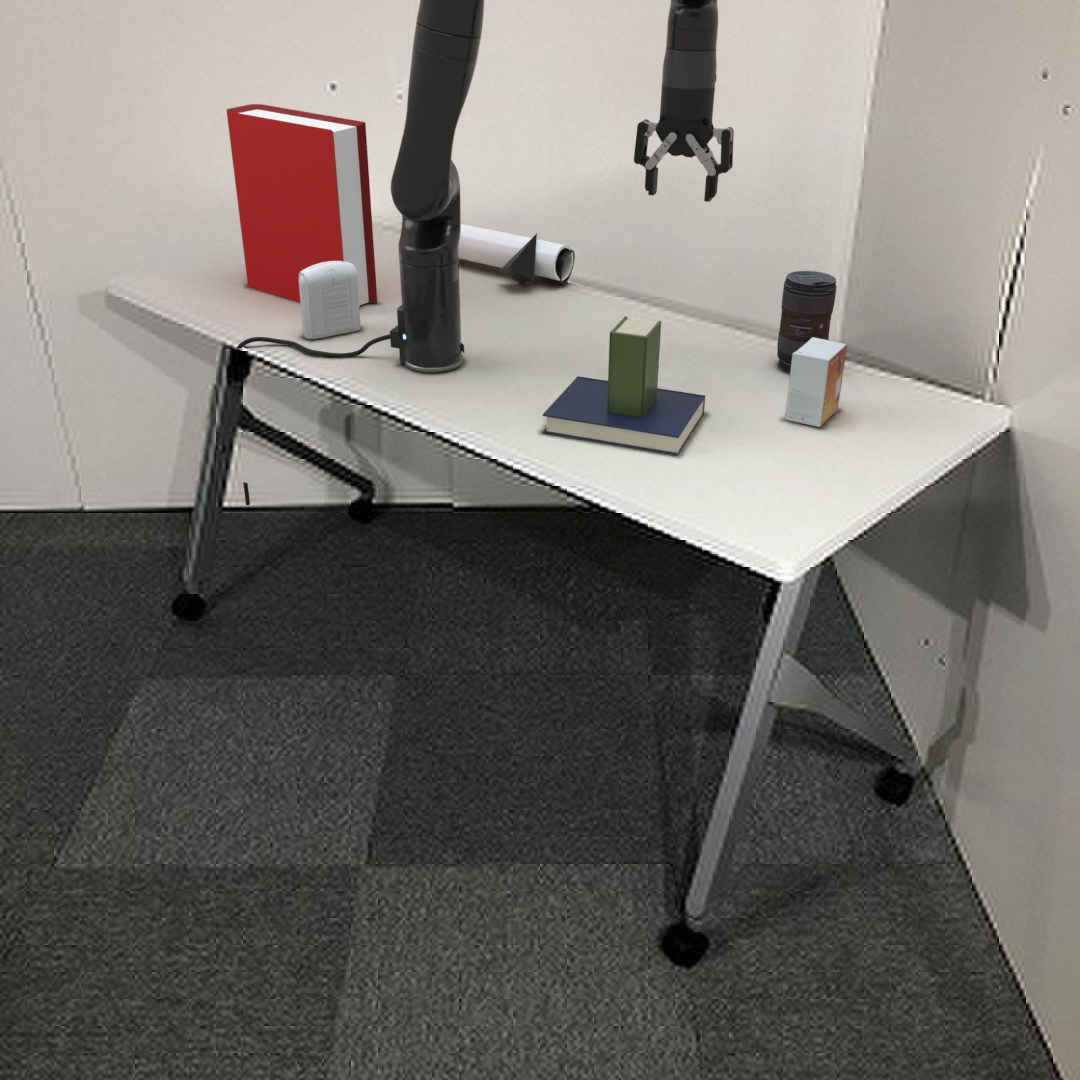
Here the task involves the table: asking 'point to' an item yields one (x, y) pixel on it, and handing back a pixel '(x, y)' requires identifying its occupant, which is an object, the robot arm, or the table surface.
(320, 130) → the book
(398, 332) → the robot arm
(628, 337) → the dictionary
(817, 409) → the small box
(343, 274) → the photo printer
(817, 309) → the camera lens
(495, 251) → the diploma
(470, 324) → the table surface
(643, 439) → the block
